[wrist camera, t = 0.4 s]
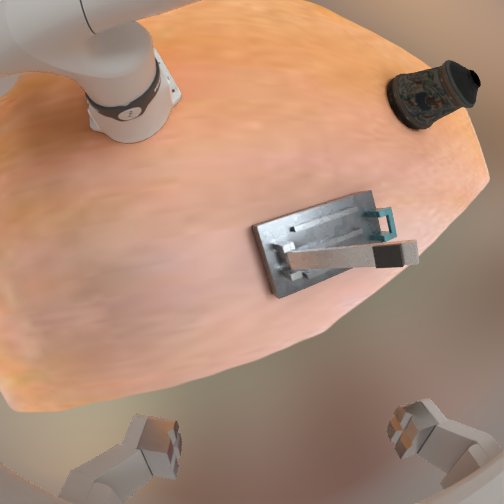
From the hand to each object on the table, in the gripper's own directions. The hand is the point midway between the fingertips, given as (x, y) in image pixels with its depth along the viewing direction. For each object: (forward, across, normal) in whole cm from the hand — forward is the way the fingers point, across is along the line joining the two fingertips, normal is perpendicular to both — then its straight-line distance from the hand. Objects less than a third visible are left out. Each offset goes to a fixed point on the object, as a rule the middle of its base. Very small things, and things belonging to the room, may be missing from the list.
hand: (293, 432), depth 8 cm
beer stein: (+58, -43, -38) cm, 82 cm away
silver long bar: (+31, -14, 0) cm, 34 cm away
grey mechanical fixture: (+48, -14, +1) cm, 50 cm away
